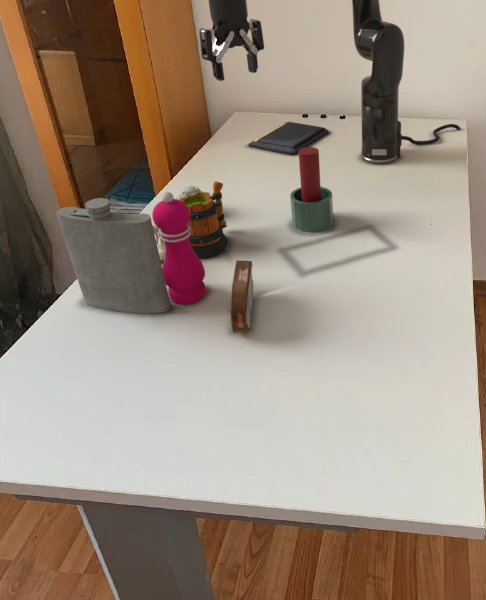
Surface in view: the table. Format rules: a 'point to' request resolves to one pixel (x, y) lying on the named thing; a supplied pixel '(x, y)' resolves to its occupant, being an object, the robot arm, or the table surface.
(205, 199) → the mug
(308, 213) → the tumbler
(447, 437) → the table surface
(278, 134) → the wallet
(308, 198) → the candle
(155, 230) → the bracelet
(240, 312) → the tin
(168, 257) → the pepper mill
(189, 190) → the frog figurine
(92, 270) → the hip flask
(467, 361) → the table surface
